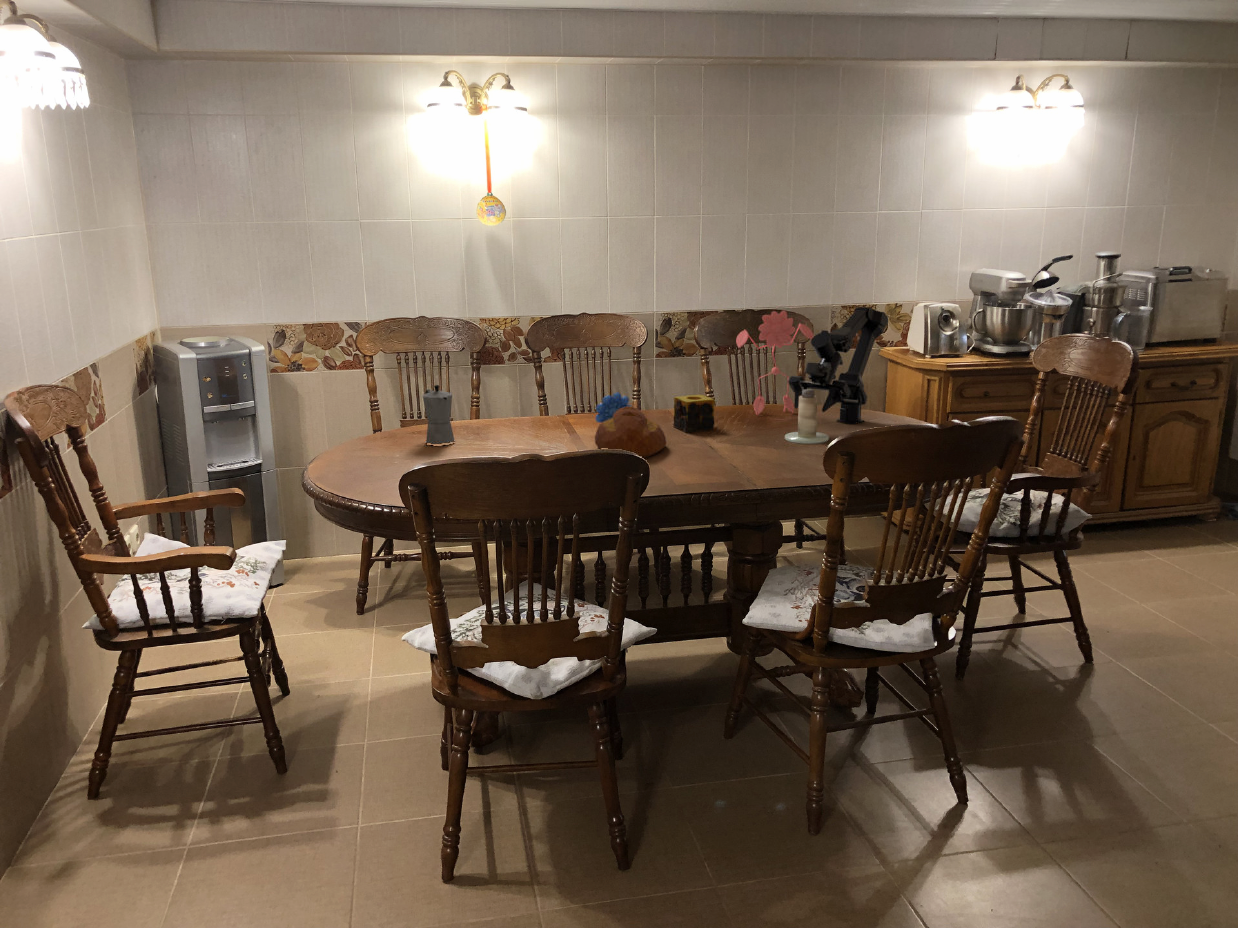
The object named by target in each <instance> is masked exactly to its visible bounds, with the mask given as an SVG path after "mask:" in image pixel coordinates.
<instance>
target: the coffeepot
mask: <svg viewBox="0 0 1238 928" xmlns="http://www.w3.org/2000/svg"><path fill="white" fill-rule="evenodd" d="M422 398H423V399H422V400H423V404H424V405H423V406H424V409H425V414H426V418H427V429H426V430H427V431H426V440H425V441H426V442H425V444H426V443H431V444H442V443H450V442H456V440H455V436H454V431H453V427H452V422H451V417H452V416H451V414H452V401H453V394H452V392H447V391H444V390H443V391H442V390H440V385H438V384H435V385H434V390H431V389H426V390H425V392H424V394H423V393H422ZM454 440H455V441H454Z"/></svg>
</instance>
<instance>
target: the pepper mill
mask: <svg viewBox="0 0 1238 928" xmlns="http://www.w3.org/2000/svg"><path fill="white" fill-rule="evenodd" d="M815 390H816V389H810V388H807V389H804V390H802V396H799V406H798V408H797V409H798V410H797V411H798V412H797V413H798V415H797V432H798V437H801V438H815V437H816V432H817V427H818V424H817V423H818V422H817V421H818V396H817V395H815Z"/></svg>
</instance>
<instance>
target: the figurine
mask: <svg viewBox="0 0 1238 928" xmlns="http://www.w3.org/2000/svg"><path fill="white" fill-rule="evenodd" d="M761 318H762V321H763V323H762V324H760V325H759V326H758V331H759V332H760V333H759V337H758V339H759V340H760V341H766V345H762V346H758V345H757V343H755V341H754V339H753V338H752V337H751V336H750V335H749V332H748V331H747V329H743V330H742V331H740V332H739V333H738V335H737V336H736V340H735V341H736V346H737V348H738V349H740V348H742V347H743V346H744V345H745V344H746V343H747V341H748V338H749V339H750V341H751V342H752V343H753V345H754V346H755V348H756V349H757V350H759V349H762V348H766V347H767V348H770V349H771V348H772V352H771V355H772V359H773V363H774V367H772V368H771V372H769V373H767V374H764V375H762V376H759V377H758V379H757V382H758V393H759V394H758V396H757V397H756V398H755V399H754V401H753V409H754V412H755V414H756V416H758V415H760V414H761V413H762V412H763V411H764V408H765V407H766V406H765V405H766V402H765V398H764V397H763V396H762V395H761V386H760V384H761V383H760V379H763V378H764V377H767V376H769V375H771V374H773V375H774V376H777V375H779V374H781V375H783V376H784V377H786V378H787V381H788V380H789V378H790V377H789V376H787V374H785V373H782V372H781V370H780V368H779V367H778V366H777V364H776V363H777V362H776V359H775V358H776V357H775V347H777V348H778V349H781V348H783V346H792V345H793V344H794V341H795V338H796V336H797V334H798V332H799V330H800V332H801V333H802V334H803V335H804V336H805V337H806V338H807V339H809V340H810V341H811V340H812V338H813V337H814V336H815V335H814V332H813V331H812V329H811V328H809V326H807V325H806V324H803V323H799V324H798V326H797V329H796V327H794V326H793V324H794V318H792V317H789V318H788V314H787V310H781V312H780V313H778V312H777V311H772V312H771V314H764V315H762V317H761ZM794 332H795V333H794ZM792 334H794V335H793V337H792V336H791V335H792ZM789 387H790V385H789V383H788V382H787V387H786V388H787V389H786V394H785V395H784V396H783V404H784V407H783V412H784V413H785V412H786V409H787V410H788V411H789V412H791V414H794V410H795V407H794V402H793V400H792V398H791V397H790V396H789ZM793 419H795V417H793V418H789V420H793ZM771 420H778V421H779V420H780V421H781V420H786V418H779V419H778V418H771Z"/></svg>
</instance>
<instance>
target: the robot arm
mask: <svg viewBox="0 0 1238 928" xmlns="http://www.w3.org/2000/svg"><path fill="white" fill-rule="evenodd" d="M888 323H889V316H888V315H886V313H885V312H884V311H880V310H876V309H873V308H872V307H869V306H856V307H855V309H854V311H853V313H852V314H851V315H850V316H849V318H847V320H846V321H845V322H844V323H843V325H842V326H840V328H837V329H836V328H835V329H834V330H832V331H831V332H829V330H823V329H822V330H821V332H820V333H817V334H815V335H814V337H813V338H812V340H811V339H810V343H811V346H812V348H813V350H814V352H815V354H816V356H817V357H818V358H820V360H819V363H818V362H811V361H810V362H806V365H805V370H804V373H805V374H807V375H808V379H809V380H810V381H807V380H806V381H805V378H804V377H803V376H797V375H791V376H790V377H789V380H788V379H787V384H788V383H789V387H790V389H791V390H792V392H793V393H794V402H793V404H794V410H795V409H796V410H797V409H798V408H799V396H802V390H804V389H812V390H818V391H827V392H828V394H827V397H826V398H825V401H824V403H823V405H822V409H821V412H822V413H825V412H826V411H827V410H829V409H830V408H831V407H833V406H834V405H835V404H837V403H840V408H839V418H838V419H836V422H840V423H844V424H849V425H854V424H859V423H863V422H865V419H862V418H861V417H862V406H865V405H866V403H867V401H868V395H867V393H866V391H865V384H864V381H863V375H864V372H865V370H866V367H867V363H868V361H869V358H870V356H871V355H870V354H871V352H872V351H873V347H874V344H875V342H876V339H877V338H879V337H880V336H881V335H883V333H884V331H885V329H886V327H887V326H888ZM859 331H860V336H859V338H858V341H857V344H856V346H855V349H854V352H853V355H852V357H851V358H852V359H851V360H850V363H849V366H848V369H847V371H846V372H841V373H840V374H839V376H838V379H836V378H837V376H836V373H837V371H838V368H839V366H842V365H843V364H844V361H843V358H842V355H841V354H840V353H848V352H849V351H850V350H851V348H852V346H853V345H854V342H853V339H854V338H855V336H856V335H857V334H858V332H859Z"/></svg>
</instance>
